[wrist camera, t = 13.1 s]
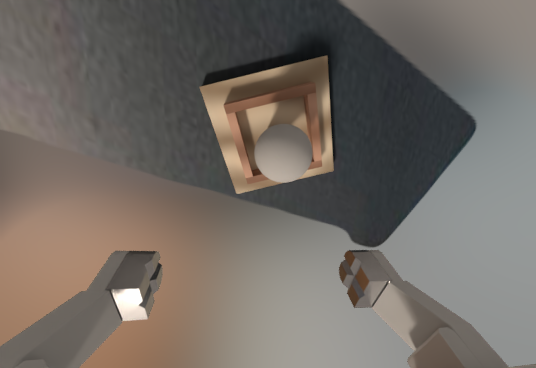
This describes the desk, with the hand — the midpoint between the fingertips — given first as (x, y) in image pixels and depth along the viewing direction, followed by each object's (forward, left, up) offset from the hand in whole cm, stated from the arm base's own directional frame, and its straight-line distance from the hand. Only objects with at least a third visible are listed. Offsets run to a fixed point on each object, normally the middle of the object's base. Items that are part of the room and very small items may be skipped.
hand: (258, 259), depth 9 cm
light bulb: (+1, +3, -21) cm, 21 cm away
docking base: (+1, +4, -22) cm, 22 cm away
